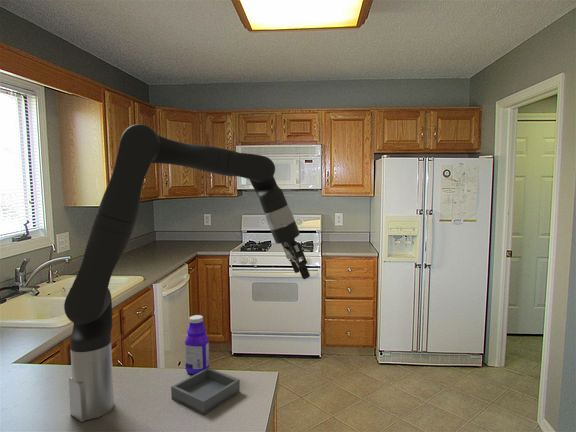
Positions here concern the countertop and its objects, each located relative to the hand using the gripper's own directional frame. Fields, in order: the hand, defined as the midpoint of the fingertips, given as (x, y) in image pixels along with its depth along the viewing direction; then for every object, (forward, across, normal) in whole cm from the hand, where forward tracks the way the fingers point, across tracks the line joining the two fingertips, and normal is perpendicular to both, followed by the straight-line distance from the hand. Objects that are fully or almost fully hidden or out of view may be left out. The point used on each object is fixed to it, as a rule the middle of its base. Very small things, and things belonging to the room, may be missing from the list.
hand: (302, 274), depth 107 cm
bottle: (+19, -14, -40) cm, 46 cm away
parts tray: (+19, +1, -38) cm, 42 cm away
